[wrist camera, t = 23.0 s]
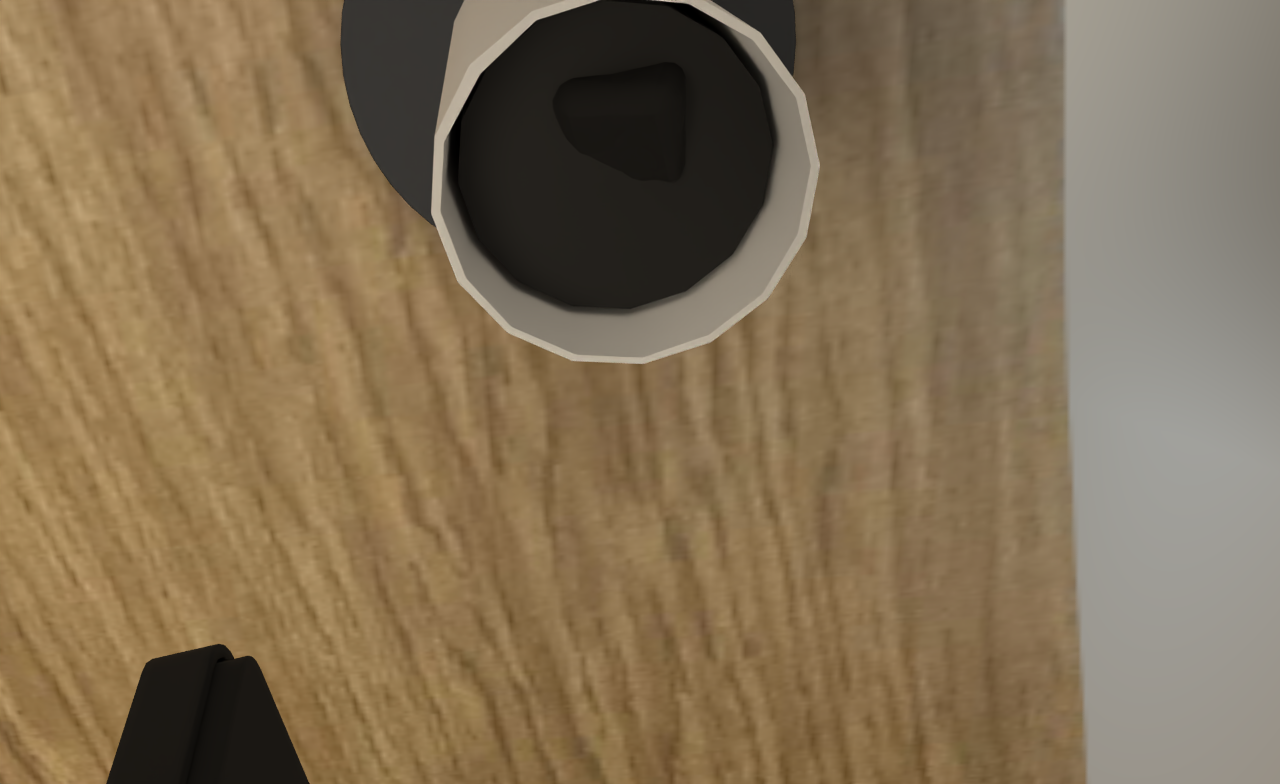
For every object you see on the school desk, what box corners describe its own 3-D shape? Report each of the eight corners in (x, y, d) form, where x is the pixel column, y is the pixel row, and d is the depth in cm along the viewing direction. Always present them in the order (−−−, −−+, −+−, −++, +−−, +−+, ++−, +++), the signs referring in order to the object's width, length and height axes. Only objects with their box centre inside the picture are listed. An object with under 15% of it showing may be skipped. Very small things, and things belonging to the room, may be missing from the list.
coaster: (280, -142, 27) (278, -141, 26) (765, -238, 27) (769, -238, 27) (409, 304, 32) (409, 310, 32) (813, 216, 33) (817, 222, 32)
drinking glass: (409, -76, 27) (397, 8, 19) (699, -105, 28) (819, -37, 19) (453, 205, 31) (460, 388, 22) (713, 173, 31) (820, 339, 22)
